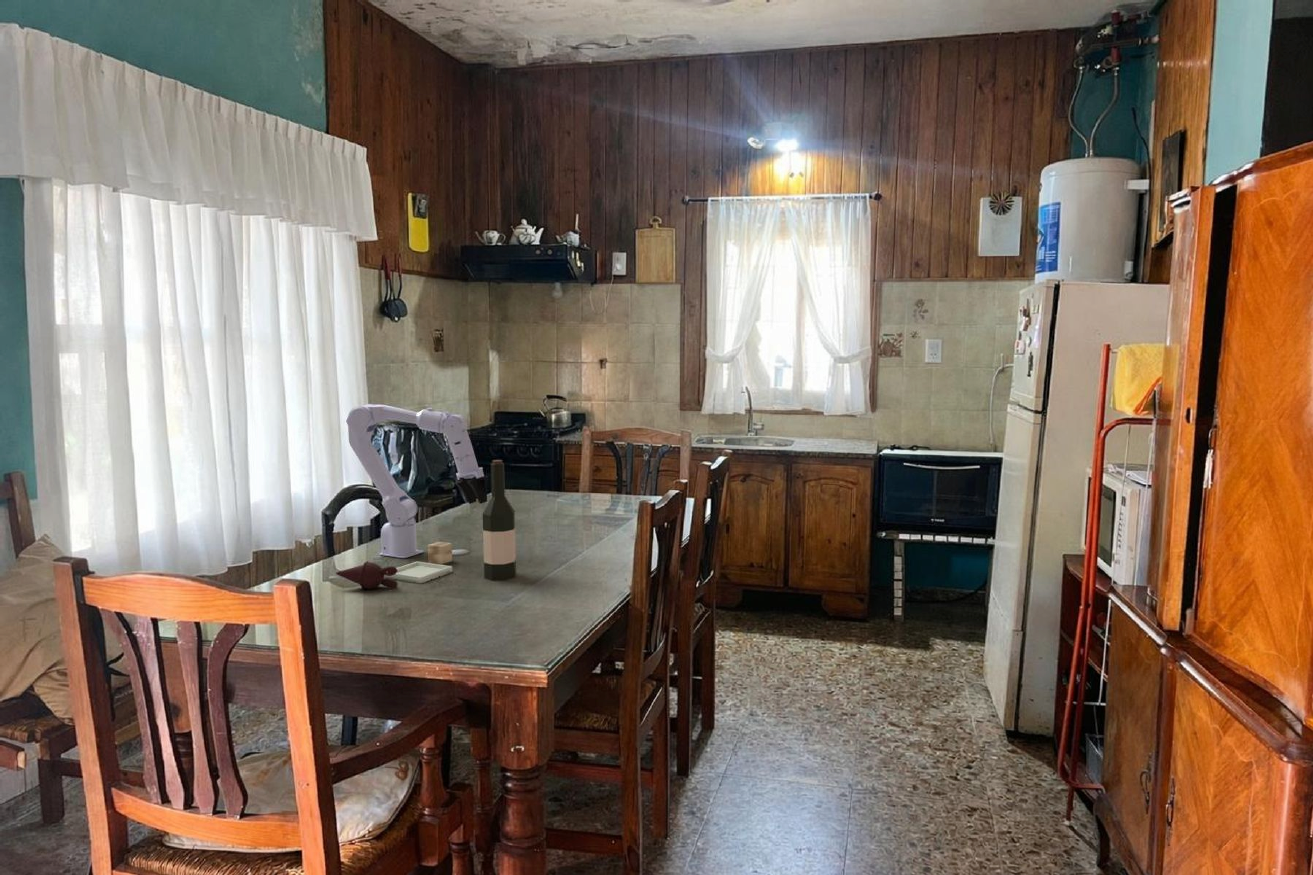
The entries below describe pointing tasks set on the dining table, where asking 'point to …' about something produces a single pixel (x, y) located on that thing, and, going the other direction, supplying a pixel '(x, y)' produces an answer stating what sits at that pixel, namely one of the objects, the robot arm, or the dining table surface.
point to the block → (439, 553)
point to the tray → (420, 572)
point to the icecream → (370, 575)
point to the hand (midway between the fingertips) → (478, 502)
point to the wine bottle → (499, 530)
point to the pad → (460, 552)
